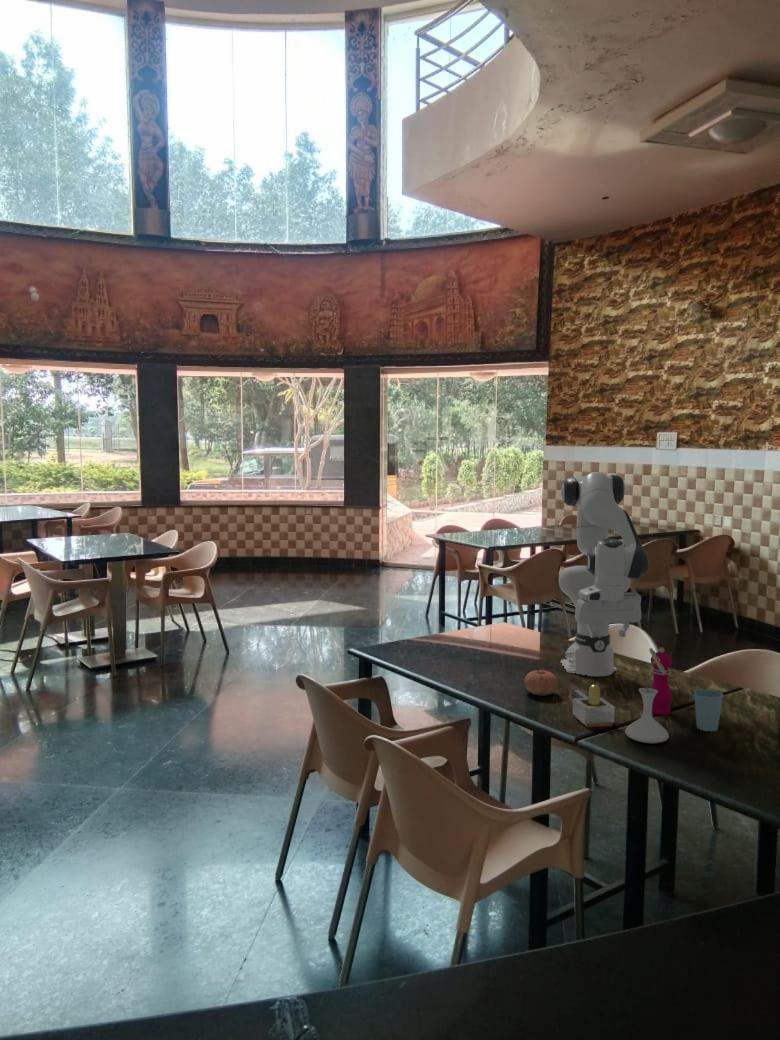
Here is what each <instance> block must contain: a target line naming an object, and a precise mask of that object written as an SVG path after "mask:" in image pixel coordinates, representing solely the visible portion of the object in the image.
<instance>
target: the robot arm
mask: <svg viewBox="0 0 780 1040" xmlns="http://www.w3.org/2000/svg"><path fill="white" fill-rule="evenodd" d="M561 485H562V486H561V489H560V495H561V498H562V500H563V503H564V504H566V505H567V506H571V507H575V506H577V512H576V513H577V514H576V543H577V544H576V545H577V546H576V547H577V549H578V551H580V553H582V554H583V555H585V556H587V564H586V565H573V566H568V567H567V566H566V567H564V568H563V569H561V572H560V574H559V575H558V585H559V589H560V590H561V591H562V593H564V594H565V595H566V596H567V597H568V598H569V599H570V600H571V602H572V603H573V606H574V607H575V610H574V620H575V621H576V622H577V631H576V632H575V637H574V642H573V643H572V644H571V645H570V646H569V647H568V648H567V651H565V652H564V656H565V659H561V660H560V664H561V663H562V664H561V665H562V667H563V666H564V667H563V668H564V670H565V669H566V670H565V671H566V672H567V673H568V674H575V673H576V674H575V675H580V674H581V676H585V675H587V677H606V676H607V677H608V676H611V675H612V674H613V673H615V672H614V671H616V672H617V671H618V668H617V667H615V665H614V650H613V648H612V647H611V646H610V644H611V635H610V624H619V623H621V624H622V627H621V629H619V630H618V636H619V637H621V638H623V637H626V633H627V631H628V629H629V627H630V624H631V623H639V622H640V621H641V620H642V608H641V604H642V596H641V594H639V593H638V592H636V591H632V592H631V591H629V589H630V586H631V582H632V581H631V579H632V580H639V579H640V578H642V577H643V576H645V574H647V573H648V571H649V563H650V561H649V558H648V554H647V552H646V549H645V548H644V546H643V545H642V542H641V541H640V540H641V539H640V538H639V535H638V532H637V531H636V528H635V526H634V523H633V521H632V519H631V517H630V515H629V513H628V511H626V510H624V509H622V508H621V506H620V505H619V504H620V503H621V502H622V501H623V500H624V497H625V495H626V485H625V482H624V480H623V478H622V477H621V476H620V475H616V474H611V475H607V474H604V473H601V472H597V471H595V472H591V473H589V474H587V475H581V476H571V477H567V478H565V480H564V481H563V483H562V484H561ZM609 530H611V531H614V532H616V533H617V534H619V535H620V538H621V539H622V541H621V540H619V539H617V538H612V537H611V538H609Z"/></svg>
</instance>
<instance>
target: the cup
mask: <svg viewBox="0 0 780 1040" xmlns="http://www.w3.org/2000/svg"><path fill="white" fill-rule="evenodd" d="M693 696H694V705H695V707H694V709H695V721H696V728H697V729H698V730H699V729H700V731H702V730H703V731H702V732H707V731H711V732H712V731H713V732H712V733H715V732H717V731H718V729H719V722H720V717H721V711H722V703H723V699H724V698H723V697H724V693H722V692H721V691H717V690H713V689H707V688H706V689H704V688H702V689H695V690H694V691H693ZM714 731H715V732H714ZM711 732H710V733H711Z"/></svg>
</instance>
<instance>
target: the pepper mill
mask: <svg viewBox="0 0 780 1040" xmlns="http://www.w3.org/2000/svg"><path fill="white" fill-rule="evenodd" d="M655 653H656V656H657V657H658V658H659V659H660V663H661V664H662V666H663V667H664V668H665V669H664V670H665V671H666V673H665V674H663V673H662V672H661V670H660V669H659V668H658V666H657V664H653V666H652V667H651V672H652V674H653V678H652V681H653V683H651V684H650V687H649V688H651V689H655V690H657V691H658V693H657V694H656V695H655V697H654V699H653V703H652V714H654V715H659V716H660V715H663V716H665V715H666V716H667V715H669V714H671V703H672V702H673V693H672V690H671V688H670V685H669V681H668V680H669V679H668V676H669V675H670V667H671V666H672V660H673V659H672V657H671V656H670V655H669V653H667V652H665V648H664V647H662V646H661V647H659V648H658V651H657V652H656V651H655ZM653 660H654V659H653V657H652V656H651V658H650V663H651V665H652V663H653Z"/></svg>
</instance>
